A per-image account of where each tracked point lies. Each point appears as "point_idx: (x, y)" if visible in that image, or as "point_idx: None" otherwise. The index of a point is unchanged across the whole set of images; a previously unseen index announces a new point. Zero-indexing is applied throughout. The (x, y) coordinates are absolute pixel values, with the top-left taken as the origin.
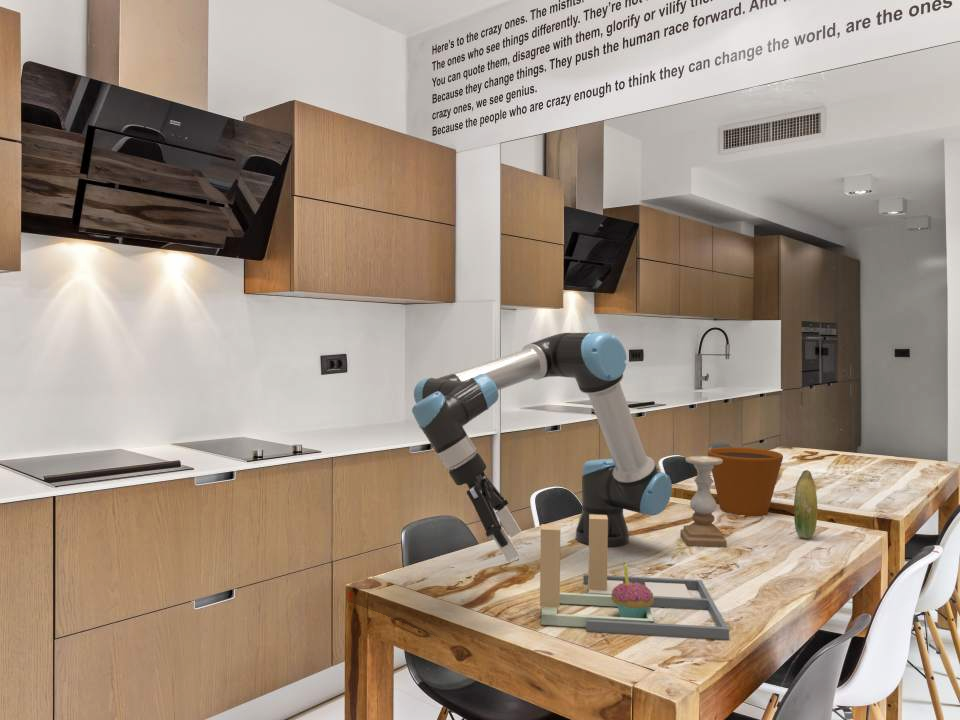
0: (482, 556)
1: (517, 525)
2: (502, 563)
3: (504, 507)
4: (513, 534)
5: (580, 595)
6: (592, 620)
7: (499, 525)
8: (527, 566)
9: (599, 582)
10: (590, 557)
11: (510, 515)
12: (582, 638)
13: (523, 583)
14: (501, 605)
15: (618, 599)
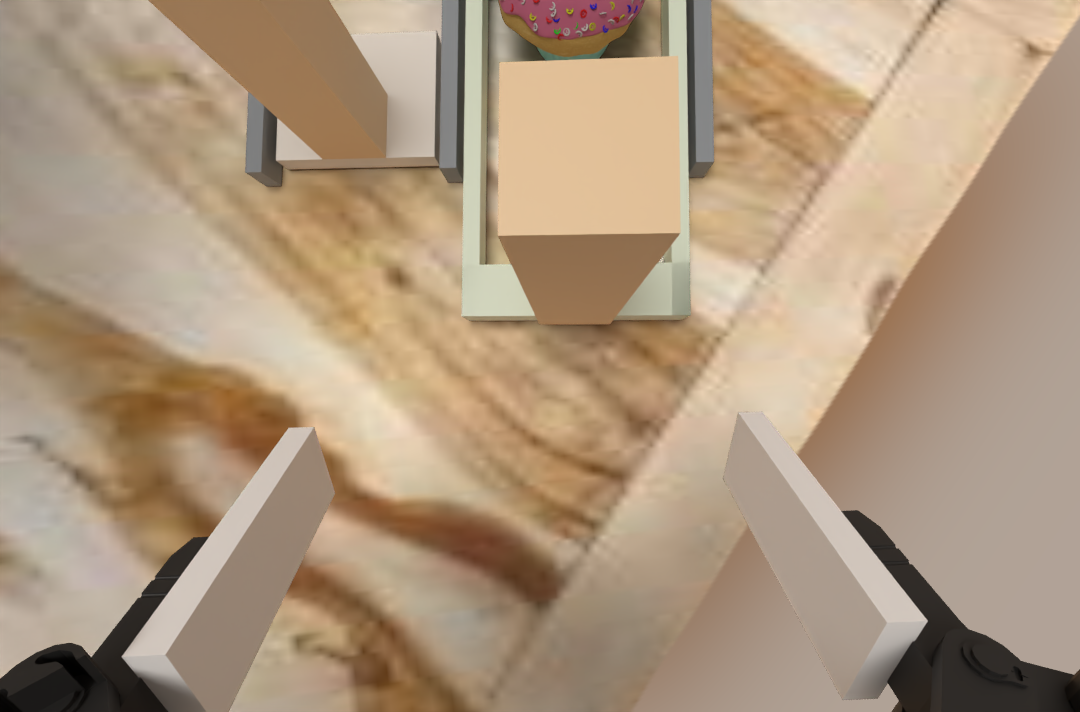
0: (3, 587)
1: (281, 464)
2: (82, 497)
3: (147, 668)
4: (325, 480)
5: (481, 181)
6: (704, 142)
7: (1010, 679)
8: (109, 397)
9: (375, 103)
10: (324, 73)
11: (232, 555)
12: (759, 190)
13: (296, 401)
14: (522, 466)
15: (628, 19)
